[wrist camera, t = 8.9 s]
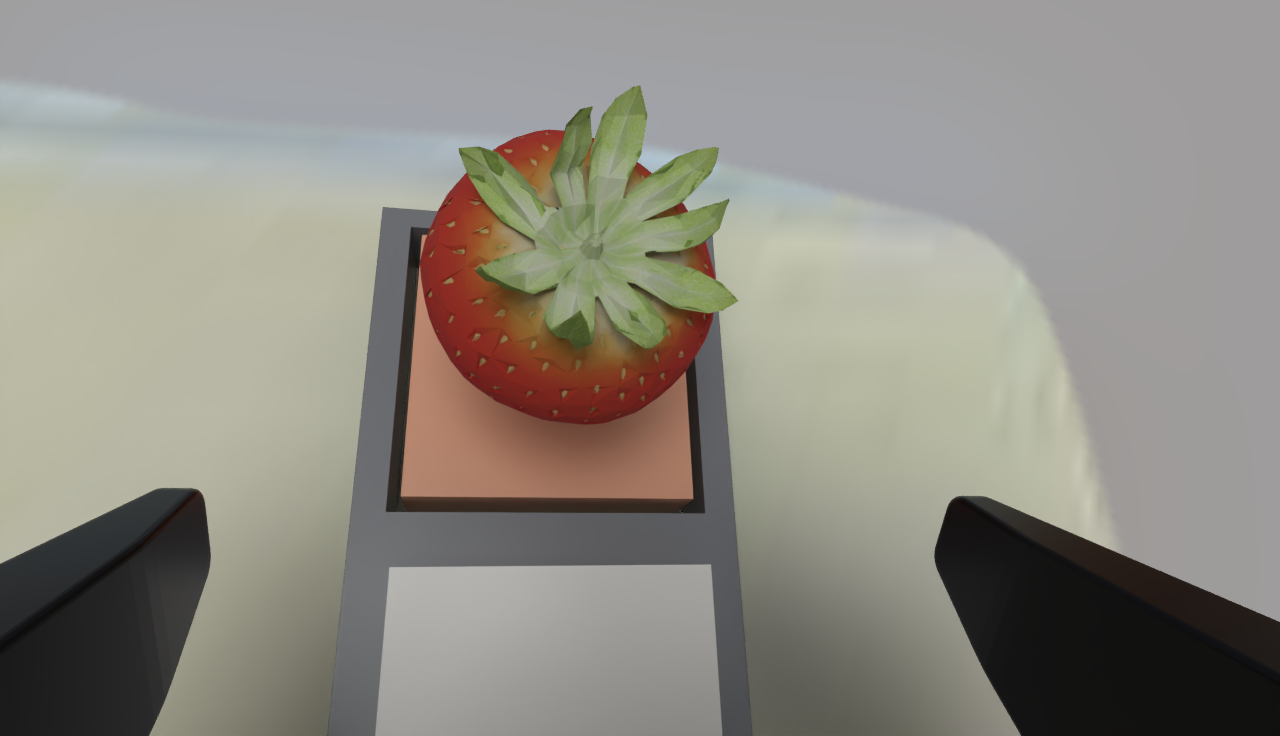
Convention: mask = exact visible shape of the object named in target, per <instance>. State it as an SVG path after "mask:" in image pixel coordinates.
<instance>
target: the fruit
mask: <svg viewBox="0 0 1280 736" xmlns="http://www.w3.org/2000/svg"><path fill="white" fill-rule="evenodd" d="M591 110H592V107H588V108H583V109H580V110H579V111H578V112H577V114H576V115H575V116H574V117H573V118H572V119H571V120H570V121H569V122H568V124H567V125H566V128H565V131H559V130H543V131H536V132H533V133H529V134H526V135H523V136H519V137H516V138H513V139H512V140H510V141H508V142H506V143H504V144H502V145H500V146H498V147H497V148H496V149H494V150H493V151H491V150H488V149H485V148H481V147H469V148H459V153H460V155H461V158H462V161H463V163H464V166H465V169H466V171H467V173H466V174H465V175H464V176H463V177H462V178H461V180H460V181H459V182H458V183H457V184H456V185H455V186H454V187H453V189H452V190H451V191H450V192H449V193H448V195H447V196H446V198H445V200H444V201H443V203H442V205H441V207H440V208H439V210H438V212H437V214H436V216H435V218H434V221H433V223H432V225H431V228H430V230H429V232H428V234H427V237H426V239H425V243H424V247H423V251H422V255H421V259H420V272H421V281H422V288H423V294H424V299H425V304H426V308H427V312H428V316H429V319H430V321H431V324H432V327H433V329H434V332H435V334H436V336H437V338H438V340H439V342H440V343H441V345H442V347H443V349H444V350H445V352H446V354H447V356H448V357H449V359H450V361H451V362H452V363H453V364H454V366H455V367H456V368H457V369H458V371H459V372H460V373H461V374H462V376H463V377H464V378H465V379H466V380H468V381H469V382H470V383H471V384H472V385H474V386H475V387H476V388H477V389H479V390H480V391H482V392H483V393H485V394H486V395H488V396H489V397H491V398H492V399H493V400H495V401H496V402H499V403H501V404H503V405H506V406H508V407H511V408H513V409H515V410H518V411H520V412H523V413H525V414H527V415H530V416H533V417H536V418H539V419H542V420H547V421H554V422H563V423H571V424H583V425H590V424H602V423H607V422H610V421H613V420H616V419H619V418H622V417H625V416H627V415H630V414H633V413H636V412H637V411H639V410H641V409H642V408H644V407H645V406H647V405H648V404H650V403H651V402H653V401H654V400H655V399H657V398H658V397H660V396H661V395H662V394H663V393H664V392H665V391H667V390H668V389H669V388H670V387H671V386H672V385H673V384H674V383H675V382H676V381H677V380H678V379H679V378H680V377H681V376H682V375H683V374H684V373H685V372H686V370H687V369H688V367H689V366H690V364H691V362H692V361H693V359H694V358H695V356H696V355H697V353H698V351H699V350H700V348H701V346H702V345H703V343H704V341H705V340H706V337H707V335H708V332H709V329H710V326H711V324H712V321H713V313H714V312H717V311H721V310H724V309H725V308H727V307H729V306H730V305H732V304H734V303H735V302H737V301H738V300H737V299H736V297H735V296H734V295H733V294H732V293H731V292H730V291H729V290H728V289H727V288H726V287H725V286H724V285H723V284H722V283H720V282H718V281H716V279H715V273H714V269H713V266H712V262H711V259H710V255H709V252H708V248H707V245H706V241H707V240H708V239H709V238H710V237H711V236H712V235H713V234H714V233H715V232H716V231H717V230H718V229H719V228H720V225H721V222H722V219H723V216H724V213H725V210H726V206H727V204H728V202H729V199H727V200H725V201H723V202H720V203H716V204H713V205H709V206H705V207H702V208H699V209H696V210H692V211H689V212H688V211H687V209H686V207H685V206H684V204H683V203H682V202H683V201H684V200H685V199H686V198H687V197H688V196H689V195H690V194H691V193H692V192H693V191H694V190H695V189H696V188H697V187H698V186H699V185H700V184H701V183H702V182H703V181H704V180H705V179H706V178H707V177H708V176H709V175H710V174H711V172H712V170H713V168H714V166H715V164H716V160H717V155H718V149H719V148H716V147H713V148H706V149H699V150H695V151H692V152H689V153H687V154H684V155H681V156H678V157H676V158H675V159H673V160H672V161H670V162H669V163H667V164H666V165H664V166H663V167H661V168H660V169H658V170H657V171H655V172H654V173H651V172H649V171H648V170H647V169H646V168H645V167H643V166H642V165H641V164H639V163H638V162H637V161H638V159H639V157H640V155H641V151H642V145H643V138H644V132H645V126H646V120H647V112H646V108H645V104H644V100H643V96H642V91H641V87H640V86H636V87H633V88H631V89H630V90H628V91H627V92H625V93H623V94H622V95H620V96H619V97H618V98H616V99H615V100H614V102H613V103H612V104H611V106H610V107H609V108H608V109H607V111H606V112H605V113H604V114H603V116H602V119H601V122H600V124H599V127H598V130H597V133H596V136H595V139H594V138H592V134H591V120H590V114H591Z"/></svg>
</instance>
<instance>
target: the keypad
mask: <svg viewBox="0 0 1280 736" xmlns="http://www.w3.org/2000/svg"><path fill="white" fill-rule="evenodd" d="M437 212H438V211H426V210H413V209H400V208H387V207H383V210H382V220H381V229H380V239H379V248H378V258H377V267H376V277H375V286H374V296H373V305H372V315H371V324H370V334H369V344H368V353H367V363H366V372H365V382H364V391H363V401H362V410H361V420H360V429H359V439H358V448H357V458H356V467H355V477H354V486H353V496H352V505H351V515H350V524H349V534H348V543H347V553H346V562H345V572H344V581H343V591H342V600H341V610H340V619H339V629H338V638H337V648H336V657H335V667H334V676H333V686H332V695H331V705H330V714H329V724H328V733H327V736H752V726H751V714H750V701H749V689H748V676H747V663H746V651H745V638H744V626H743V613H742V601H741V588H740V575H739V563H738V550H737V538H736V525H735V513H734V500H733V488H732V475H731V462H730V450H729V437H728V425H727V412H726V400H725V387H724V374H723V362H722V349H721V337H720V324H719V312H718V311H717V312H714V313H713V321H712V324H711V326H710V329H709V332H708V335H707V337H706V340H705V341H704V343H703V345H702V346H701V348H700V350H699V351H698V353H697V355H696V356H695V358H694V359H693V361H692V362H691V364H690V366H689V367H688V369H687V370H686V383H687V400H688V417H689V433H690V450H691V466H692V483H693V500H691V501H690V502H689V503H688V504H687V505H686V506H684V507H683V513H497V512H396V508H397V496H398V484H399V472H400V460H401V448H402V436H403V424H404V412H405V400H406V388H407V376H408V364H409V352H410V340H411V328H412V316H413V304H414V292H415V280H416V268H417V267H420V255H421V242H422V235H427V234H428V232H429V230H430V228H431V225H432V223H433V221H434V218H435V216H436V214H437ZM706 245H707V248H708V252H709V255H710V259H711V262H712V266H713V269H714V273H715V261H714V249H713V236H711V237H710V238H709V239H708V240H707V241H706ZM715 279H716V274H715Z"/></svg>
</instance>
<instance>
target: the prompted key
mask: <svg viewBox="0 0 1280 736" xmlns="http://www.w3.org/2000/svg"><path fill="white" fill-rule="evenodd" d="M426 237H427V235H422V242H421V255H422V251H423V247H424V243H425V239H426ZM421 255H420V259H421ZM401 498H402V501H403V503H404V506H405V508H406V511H407V512H497V513H677V512H678V511H680V510H681V509H682V508H683V507H684V506H686V505H687V504H688V503H689V502H690V501H691V500H693V483H692V466H691V450H690V433H689V417H688V400H687V383H686V372H685V373H684V374H683V375H682V376H681V377H680V378H679V379H678V380H677V381H676V382H675V383H674V384H673V385H672V386H671V387H670V388H669V389H668V390H667V391H665V392H664V393H663V394H662V395H661V396H660V397H658V398H657V399H655V400H654V401H653V402H651V403H650V404H648V405H647V406H645V407H644V408H642V409H641V410H639V411H637V412H636V413H633V414H630V415H627V416H625V417H622V418H619V419H616V420H613V421H610V422H607V423H602V424H590V425H583V424H571V423H563V422H554V421H547V420H542V419H539V418H536V417H533V416H530V415H527V414H525V413H523V412H520V411H518V410H515V409H513V408H511V407H508V406H506V405H503V404H501V403H499V402H496V401H495V400H493V399H492V398H491V397H489V396H488V395H486V394H485V393H483V392H482V391H480V390H479V389H477V388H476V387H475V386H474V385H472V384H471V383H470V382H469V381H468V380H466V379H465V378H464V377H463V376H462V374H461V373H460V372H459V371H458V369H457V368H456V367H455V366H454V364H453V363H452V362H451V361H450V359H449V357H448V356H447V354H446V352H445V350H444V349H443V347H442V345H441V343H440V342H439V340H438V338H437V336H436V334H435V332H434V329H433V327H432V324H431V321H430V319H429V316H428V312H427V308H426V304H425V299H424V294H423V288H422V281H421V272H420V267H419V279H418V291H417V304H416V316H415V328H414V340H413V352H412V365H411V377H410V389H409V401H408V414H407V426H406V438H405V450H404V463H403V475H402V487H401Z"/></svg>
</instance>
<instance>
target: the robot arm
mask: <svg viewBox="0 0 1280 736" xmlns="http://www.w3.org/2000/svg"><path fill="white" fill-rule="evenodd" d="M210 560H211V552H210V543H209V534H208V525H207V516H206V507H205V501H204V498H203V495H202V493H201V492H200V491H199V490H197V489H193V488H160V489H156V490H153V491H151V492H149V493H147V494H145V495H143V496H141V497H139V498H137V499H135V500H133V501H130V502H128V503H126V504H124V505H122V506H120V507H118V508H116V509H114V510H112V511H110V512H107V513H105V514H103V515H101V516H99V517H97V518H95V519H93V520H91V521H89V522H87V523H85V524H82V525H80V526H78V527H76V528H74V529H72V530H70V531H68V532H66V533H64V534H62V535H59V536H57V537H55V538H53V539H51V540H49V541H47V542H45V543H43V544H41V545H39V546H37V547H34V548H32V549H30V550H28V551H26V552H24V553H22V554H20V555H18V556H16V557H14V558H11V559H9V560H7V561H5V562H3V563H1V564H0V736H149V734H150V732H151V730H152V728H153V726H154V724H155V722H156V719H157V717H158V715H159V713H160V710H161V708H162V706H163V704H164V701H165V699H166V696H167V694H168V691H169V688H170V685H171V683H172V680H173V677H174V674H175V671H176V668H177V665H178V662H179V659H180V656H181V653H182V650H183V648H184V645H185V642H186V639H187V636H188V633H189V630H190V627H191V624H192V621H193V618H194V615H195V612H196V609H197V606H198V603H199V600H200V597H201V594H202V591H203V588H204V585H205V582H206V579H207V576H208V573H209V568H210ZM935 563H936V567H937V570H938V572H939V575H940V577H941V579H942V581H943V583H944V586H945V588H946V590H947V592H948V594H949V596H950V599H951V601H952V603H953V605H954V607H955V610H956V612H957V614H958V616H959V618H960V621H961V623H962V625H963V627H964V629H965V631H966V634H967V636H968V638H969V640H970V642H971V645H972V647H973V649H974V651H975V653H976V655H977V657H978V659H979V661H980V664H981V666H982V668H983V670H984V672H985V673H986V675H987V677H988V679H989V681H990V682H991V684H992V686H993V688H994V690H995V691H996V693H997V695H998V696H999V698H1000V700H1001V702H1002V703H1003V705H1004V707H1005V709H1006V710H1007V712H1008V714H1009V715H1010V717H1011V719H1012V721H1013V722H1014V724H1015V726H1016V728H1017V729H1018V731H1019V733H1020V734H1021V736H1280V622H1278V621H1276V620H1274V619H1271V618H1269V617H1267V616H1265V615H1262V614H1260V613H1257V612H1255V611H1253V610H1250V609H1248V608H1246V607H1243V606H1241V605H1239V604H1236V603H1234V602H1232V601H1229V600H1227V599H1225V598H1222V597H1220V596H1217V595H1215V594H1213V593H1211V592H1208V591H1206V590H1204V589H1201V588H1199V587H1197V586H1194V585H1192V584H1190V583H1187V582H1185V581H1182V580H1180V579H1177V578H1175V577H1173V576H1171V575H1168V574H1166V573H1164V572H1161V571H1159V570H1156V569H1154V568H1152V567H1150V566H1147V565H1145V564H1143V563H1140V562H1138V561H1135V560H1133V559H1131V558H1128V557H1126V556H1124V555H1122V554H1119V553H1117V552H1114V551H1112V550H1110V549H1107V548H1105V547H1103V546H1100V545H1098V544H1096V543H1093V542H1091V541H1089V540H1086V539H1084V538H1082V537H1079V536H1077V535H1075V534H1072V533H1070V532H1068V531H1065V530H1063V529H1061V528H1058V527H1056V526H1054V525H1051V524H1049V523H1047V522H1044V521H1042V520H1039V519H1037V518H1035V517H1032V516H1030V515H1028V514H1025V513H1023V512H1021V511H1018V510H1016V509H1014V508H1011V507H1009V506H1007V505H1004V504H1002V503H1000V502H997V501H995V500H993V499H990V498H988V497H983V496H958V497H955V498H954V499H952V500H951V502H950V503H949V505H948V507H947V510H946V514H945V517H944V520H943V524H942V527H941V530H940V534H939V537H938V540H937V544H936V547H935Z"/></svg>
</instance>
